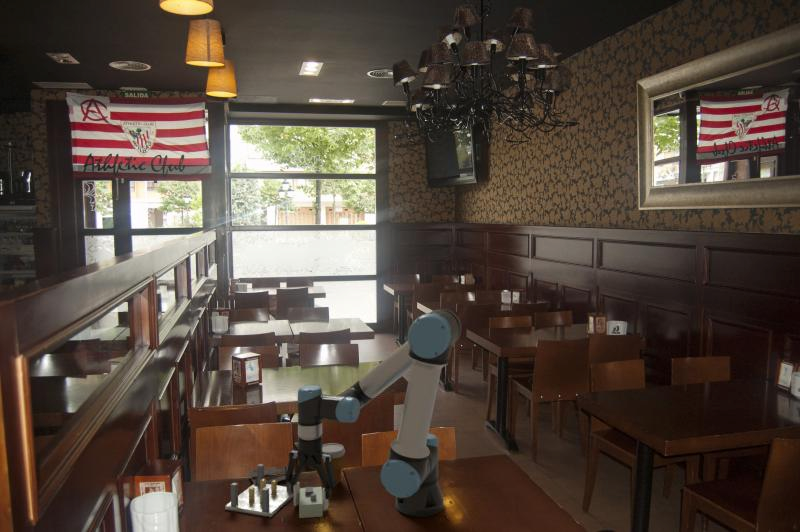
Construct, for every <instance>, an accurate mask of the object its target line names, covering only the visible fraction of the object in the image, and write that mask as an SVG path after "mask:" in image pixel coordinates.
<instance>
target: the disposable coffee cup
mask: <svg viewBox="0 0 800 532" xmlns="http://www.w3.org/2000/svg"><path fill="white" fill-rule="evenodd" d="M322 451H323V454H325V455H329V454H331V455H332V465H333V470H334V474H335V478H336V483H337V484H336V485H338V484H339V483H341V479H342V471H343V462H344V455H345V453H346V450H345V448H344V445H343V444H340V443H337V442H334V443H333V442H331V443H330V442H329V443H325V444H322ZM321 461H322V463H323V468H324V470H325V472H326V467H325V462H324V460H323V458H322V459H321ZM326 474H327V472H326Z"/></svg>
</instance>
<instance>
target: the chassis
mask: <svg viewBox="0 0 800 532" xmlns="http://www.w3.org/2000/svg"><path fill="white" fill-rule="evenodd" d="M256 468H257V469H256V471H257V478H256V481H257V484H255V483H254V482H253V484H252V485H251V486H249V487H248V488H247V489H245V490H244V491H243V492H241V493H240V494H239V483H238V482H232V483H231V484H230V502H228V503H227V504H225V507H224V508H225V510H227V511H232V512H233V511H234V512H239V513H245V514H251V515H256V516H261V517H262V516H263V517H267V516H268V517H269V518H272V517H273V516H275V514H276V513H277V512H278V511H280V508H281V507H282V508H283V507H284V506H285V505H287V503H288V502H290V501H291V500H292V499H294V494H292V493H291V484H290V483H289V482H286V486H284V485H283V486H282V485H278V482H277V481H276V480H272V481H271V483H270V484H266V478H265V475H264V469H265V464H264V463H258V464H257V465H256ZM286 473H287V470H286ZM293 476H294V475H293ZM293 476H292V477H293ZM264 478H265V479H264ZM283 505H284V506H283ZM282 508H281V509H282Z"/></svg>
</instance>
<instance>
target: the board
mask: <svg viewBox="0 0 800 532" xmlns="http://www.w3.org/2000/svg"><path fill="white" fill-rule="evenodd" d="M322 490H323V487H322V486H316V487H315V486H305V487H300V498H299V504H298V507H299V508H298V509H299V511H298V513H299V515H298V516H299V517H298V518H299V519H305V518H316V517H317V518H320V517H323V515H324V514H323V511H324V510H323V503H322Z"/></svg>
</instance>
